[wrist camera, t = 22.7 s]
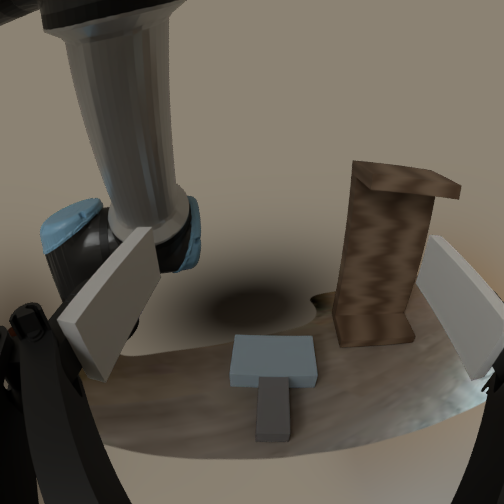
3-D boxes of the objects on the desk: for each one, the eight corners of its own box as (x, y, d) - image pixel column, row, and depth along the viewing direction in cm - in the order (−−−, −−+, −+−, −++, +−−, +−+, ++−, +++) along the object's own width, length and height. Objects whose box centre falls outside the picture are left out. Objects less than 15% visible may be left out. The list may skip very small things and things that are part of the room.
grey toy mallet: (223, 440, 30) (221, 430, 28) (236, 347, 45) (235, 334, 43) (319, 441, 29) (324, 431, 28) (309, 348, 44) (312, 335, 43)
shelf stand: (339, 347, 44) (372, 173, 31) (331, 313, 52) (352, 160, 39) (412, 342, 43) (461, 185, 30) (397, 311, 51) (431, 170, 38)
